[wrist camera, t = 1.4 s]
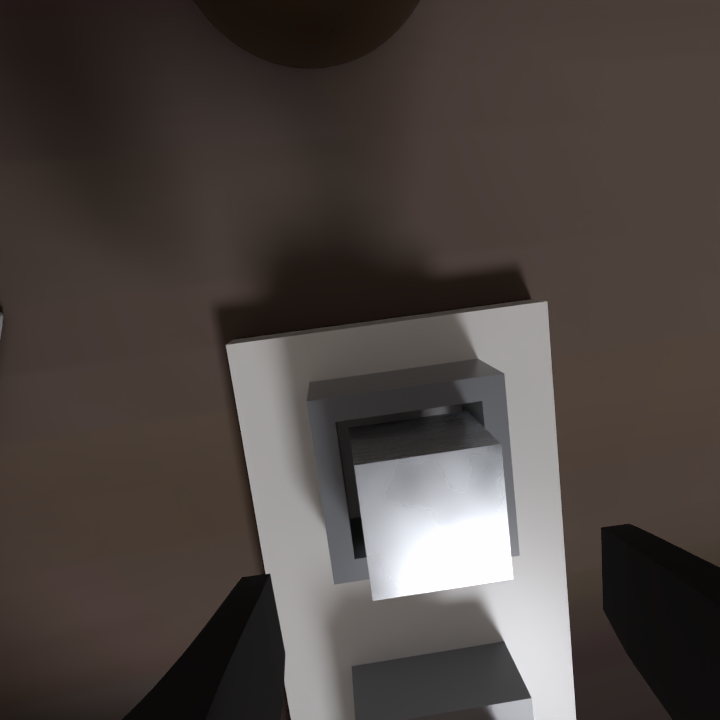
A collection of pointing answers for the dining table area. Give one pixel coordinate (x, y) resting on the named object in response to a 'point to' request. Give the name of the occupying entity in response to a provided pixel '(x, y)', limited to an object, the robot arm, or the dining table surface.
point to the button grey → (431, 504)
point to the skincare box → (0, 321)
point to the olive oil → (308, 27)
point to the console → (344, 527)
